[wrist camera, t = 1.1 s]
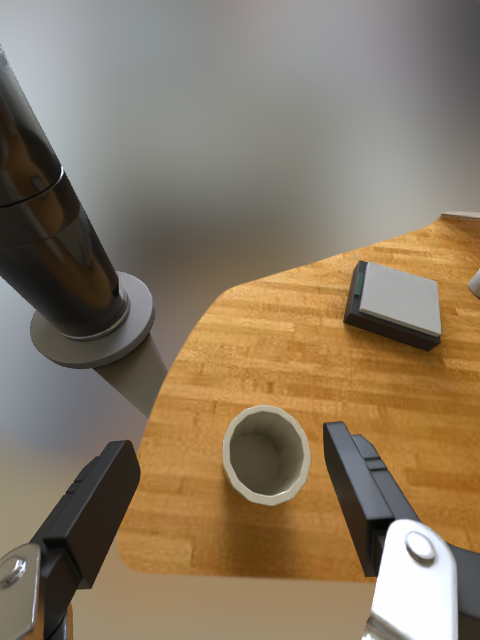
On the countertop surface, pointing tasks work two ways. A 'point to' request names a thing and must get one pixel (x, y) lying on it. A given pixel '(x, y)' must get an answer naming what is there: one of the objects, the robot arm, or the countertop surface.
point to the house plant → (475, 284)
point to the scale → (394, 305)
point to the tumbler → (266, 455)
